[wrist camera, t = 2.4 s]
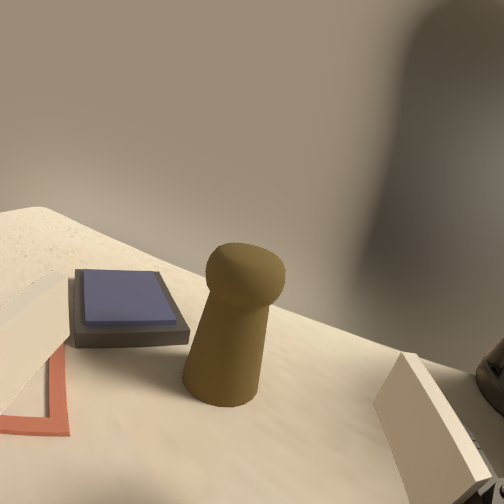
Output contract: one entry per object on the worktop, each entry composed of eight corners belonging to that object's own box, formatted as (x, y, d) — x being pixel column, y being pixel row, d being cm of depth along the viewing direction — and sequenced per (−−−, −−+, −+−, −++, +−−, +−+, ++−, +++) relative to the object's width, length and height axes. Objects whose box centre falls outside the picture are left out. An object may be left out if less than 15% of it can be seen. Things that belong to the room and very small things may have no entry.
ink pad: (188, 343, 27) (191, 325, 26) (75, 347, 22) (74, 327, 21) (157, 283, 37) (159, 267, 36) (75, 281, 32) (75, 265, 31)
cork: (166, 375, 22) (184, 238, 19) (214, 348, 27) (240, 230, 24) (228, 419, 20) (267, 277, 16) (271, 381, 25) (312, 258, 21)
